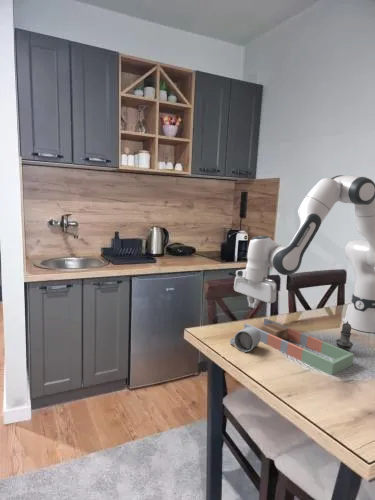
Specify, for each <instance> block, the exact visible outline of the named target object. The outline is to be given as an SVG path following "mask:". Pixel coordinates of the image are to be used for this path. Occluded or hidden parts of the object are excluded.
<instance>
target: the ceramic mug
mask: <svg viewBox="0 0 375 500" xmlns="http://www.w3.org/2000/svg"><path fill="white" fill-rule="evenodd" d="M253 327H254V326H253ZM253 327H247V328H245V329H244V328H243V329H241V330H239V331H237V332H236V333H235V335H234V337H233V338H230V339H229V342H230V345H232V346H233V345H235V347H236V348H237V350H239V351H241V352H243V353H248V352H251V351H252V350H253V349H254V348H255V347H257V346H258V345H259V343H260V342H261V341H260V339H261V336H260V333H259V331H258V330H257V329H255V328H253Z"/></svg>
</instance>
